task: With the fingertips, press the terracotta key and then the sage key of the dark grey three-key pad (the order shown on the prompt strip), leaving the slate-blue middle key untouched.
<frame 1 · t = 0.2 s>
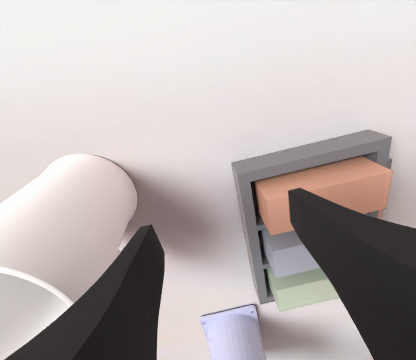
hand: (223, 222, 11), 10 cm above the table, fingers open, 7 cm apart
key sage: (316, 277, 24), point 3 cm above the table, slide at 0.0 cm
key terracotta: (317, 194, 19), point 3 cm above the table, slide at 0.0 cm
key slate: (316, 240, 22), point 3 cm above the table, slide at 0.0 cm
keypad frame: (301, 220, 25), on the table
mug: (102, 207, 22), on the table
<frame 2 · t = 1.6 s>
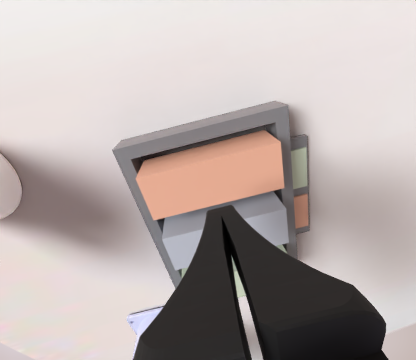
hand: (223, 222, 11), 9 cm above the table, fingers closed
key sage: (235, 269, 22), point 3 cm above the table, slide at 0.0 cm
key terracotta: (210, 173, 17), point 3 cm above the table, slide at 0.0 cm
key slate: (224, 227, 19), point 3 cm above the table, slide at 0.0 cm
keypad frame: (219, 207, 22), on the table
prompt strip: (296, 188, 22), on the table
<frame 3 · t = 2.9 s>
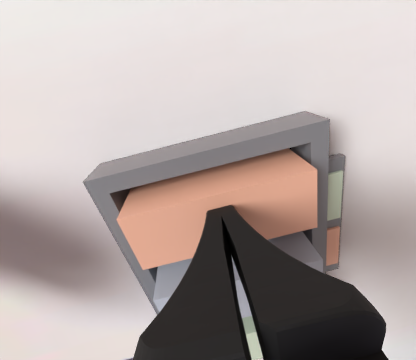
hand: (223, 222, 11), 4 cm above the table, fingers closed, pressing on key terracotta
key sage: (248, 322, 17), point 3 cm above the table, slide at 0.0 cm
key terracotta: (218, 205, 13), point 3 cm above the table, slide at 0.6 cm, touching gripper
key slate: (236, 276, 15), point 3 cm above the table, slide at 0.0 cm
keypad frame: (228, 243, 18), on the table
prompt strip: (324, 219, 18), on the table
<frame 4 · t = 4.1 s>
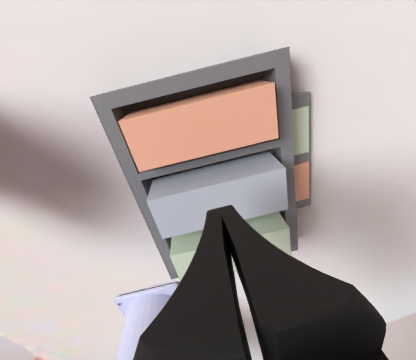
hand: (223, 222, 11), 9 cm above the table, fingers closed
key sage: (229, 243, 20), point 3 cm above the table, slide at 0.0 cm
key terracotta: (200, 124, 16), point 2 cm above the table, slide at 0.9 cm
key slate: (217, 193, 18), point 3 cm above the table, slide at 0.0 cm
keypad frame: (213, 176, 20), on the table
prompt strip: (296, 156, 20), on the table
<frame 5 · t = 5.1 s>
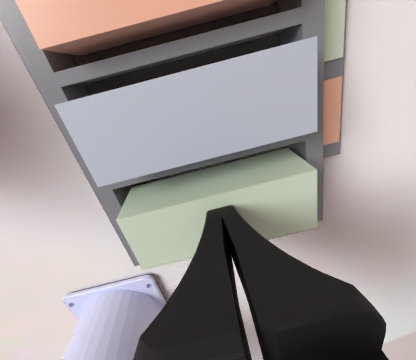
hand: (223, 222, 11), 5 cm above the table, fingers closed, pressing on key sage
key sage: (218, 206, 13), point 3 cm above the table, slide at 0.0 cm, touching gripper
key slate: (194, 112, 10), point 3 cm above the table, slide at 0.0 cm
keypad frame: (192, 103, 13), on the table
prompt strip: (322, 70, 13), on the table
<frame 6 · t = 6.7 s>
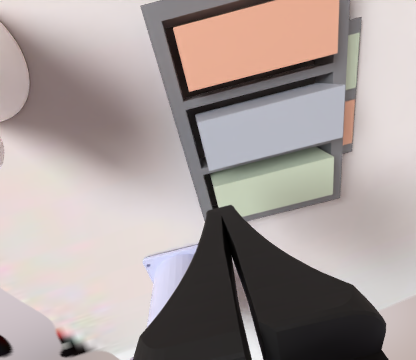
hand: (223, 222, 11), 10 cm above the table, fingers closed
key sage: (268, 181, 20), point 2 cm above the table, slide at 0.9 cm
key terracotta: (252, 44, 15), point 2 cm above the table, slide at 0.9 cm
key slate: (265, 125, 17), point 3 cm above the table, slide at 0.0 cm
keypad frame: (253, 117, 20), on the table
prompt strip: (341, 95, 19), on the table
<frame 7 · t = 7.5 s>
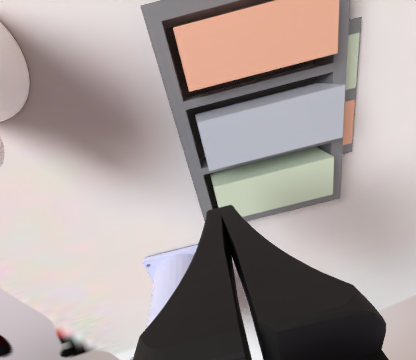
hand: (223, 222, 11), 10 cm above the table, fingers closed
key sage: (268, 181, 20), point 2 cm above the table, slide at 0.9 cm
key terracotta: (252, 44, 15), point 2 cm above the table, slide at 0.9 cm
key slate: (265, 125, 17), point 3 cm above the table, slide at 0.0 cm
keypad frame: (253, 117, 20), on the table
prompt strip: (341, 95, 19), on the table
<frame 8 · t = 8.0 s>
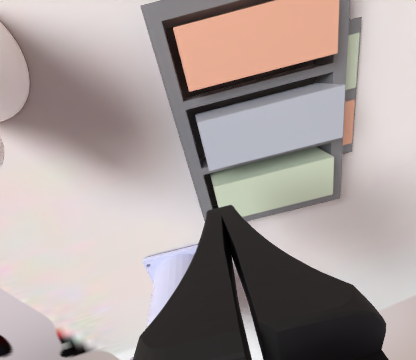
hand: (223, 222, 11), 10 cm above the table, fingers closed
key sage: (268, 181, 20), point 2 cm above the table, slide at 0.9 cm
key terracotta: (252, 44, 15), point 2 cm above the table, slide at 0.9 cm
key slate: (265, 125, 17), point 3 cm above the table, slide at 0.0 cm
keypad frame: (253, 117, 20), on the table
prompt strip: (341, 95, 19), on the table
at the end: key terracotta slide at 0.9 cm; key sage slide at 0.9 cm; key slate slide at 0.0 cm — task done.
